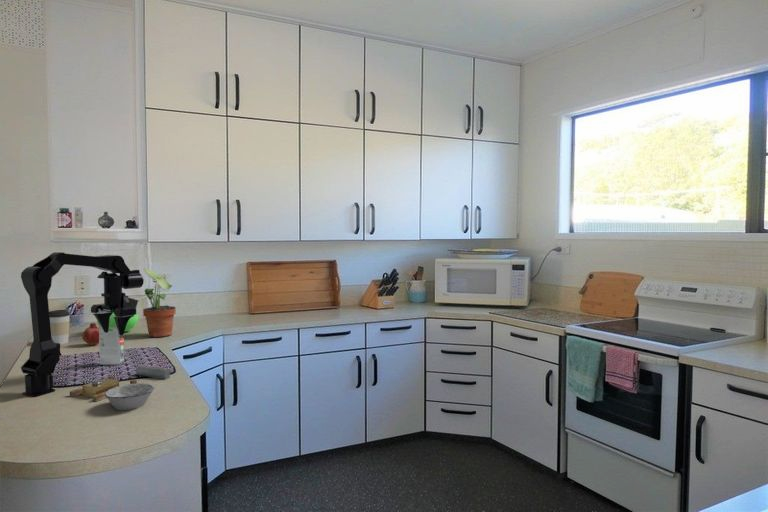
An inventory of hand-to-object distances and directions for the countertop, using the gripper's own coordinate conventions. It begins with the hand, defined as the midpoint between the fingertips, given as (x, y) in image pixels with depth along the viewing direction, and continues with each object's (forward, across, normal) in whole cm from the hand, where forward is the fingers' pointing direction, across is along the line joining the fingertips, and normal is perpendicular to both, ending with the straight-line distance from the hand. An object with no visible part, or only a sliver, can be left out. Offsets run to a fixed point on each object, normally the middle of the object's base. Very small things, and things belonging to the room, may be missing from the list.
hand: (113, 333), depth 180 cm
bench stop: (+14, -16, -4) cm, 22 cm away
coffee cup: (+14, +68, -16) cm, 71 cm away
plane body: (+14, -18, +14) cm, 27 cm away
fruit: (+14, +50, -21) cm, 56 cm away
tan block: (+15, -18, +15) cm, 28 cm away
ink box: (+14, +12, -7) cm, 20 cm away
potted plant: (+14, +41, -48) cm, 64 cm away
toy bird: (+14, +66, -42) cm, 80 cm away
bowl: (+15, -36, +17) cm, 43 cm away
